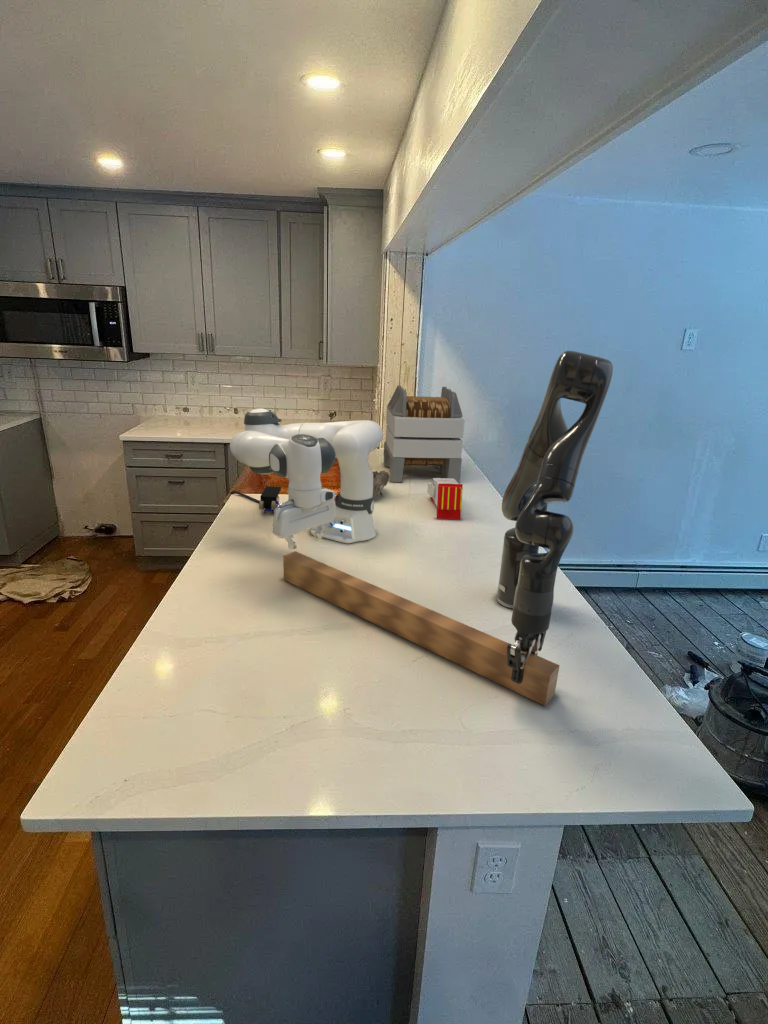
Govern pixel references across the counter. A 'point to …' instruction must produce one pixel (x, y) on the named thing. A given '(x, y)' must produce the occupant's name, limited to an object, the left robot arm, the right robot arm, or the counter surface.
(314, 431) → the left robot arm
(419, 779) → the counter surface
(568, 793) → the counter surface
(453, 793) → the counter surface
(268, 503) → the figurine character
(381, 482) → the fossil
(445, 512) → the toy
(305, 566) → the post
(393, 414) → the transformer
